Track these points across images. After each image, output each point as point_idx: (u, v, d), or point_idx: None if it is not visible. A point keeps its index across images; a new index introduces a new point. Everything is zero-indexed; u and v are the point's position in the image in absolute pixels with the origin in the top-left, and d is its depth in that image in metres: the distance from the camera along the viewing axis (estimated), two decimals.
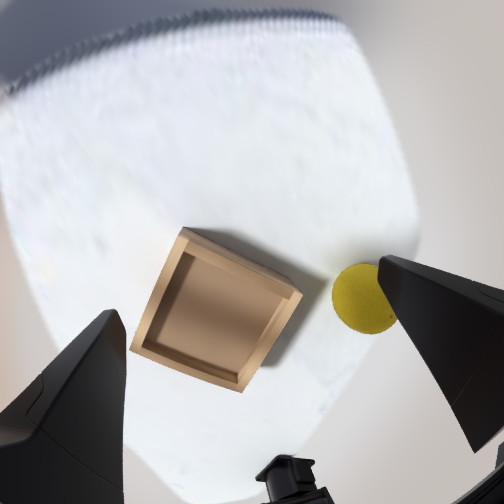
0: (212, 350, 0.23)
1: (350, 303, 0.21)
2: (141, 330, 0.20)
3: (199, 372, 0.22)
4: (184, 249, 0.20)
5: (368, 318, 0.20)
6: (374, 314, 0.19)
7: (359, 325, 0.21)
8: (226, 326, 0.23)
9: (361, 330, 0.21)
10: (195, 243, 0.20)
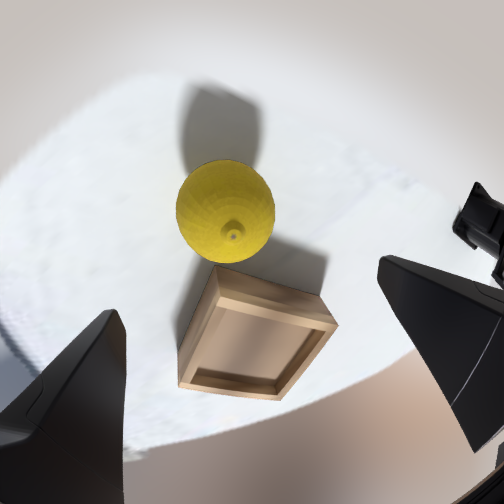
0: (288, 344, 0.24)
1: None
2: (261, 397, 0.25)
3: (306, 360, 0.23)
4: (188, 383, 0.22)
5: (239, 256, 0.14)
6: (231, 253, 0.14)
7: (254, 253, 0.15)
8: (262, 339, 0.23)
9: (263, 244, 0.15)
10: (182, 376, 0.22)
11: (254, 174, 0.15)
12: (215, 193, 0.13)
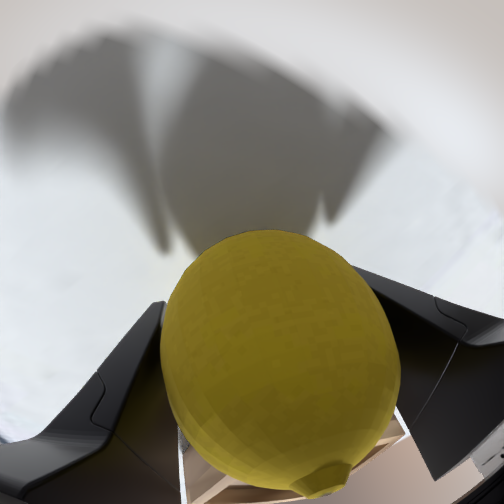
0: None
1: None
2: (293, 499, 0.15)
3: (355, 468, 0.14)
4: (201, 503, 0.13)
5: None
6: None
7: None
8: None
9: None
10: (192, 499, 0.12)
11: (367, 295, 0.05)
12: (282, 407, 0.04)
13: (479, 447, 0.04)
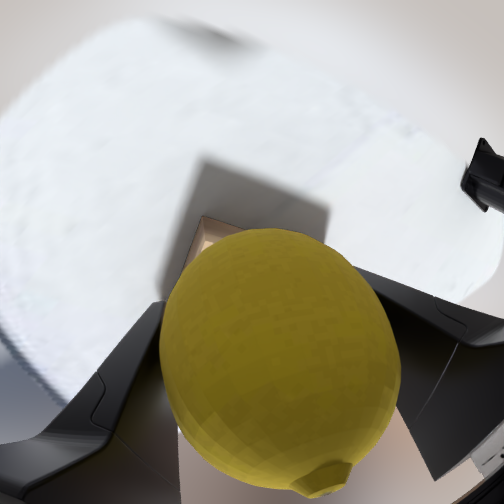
0: None
1: None
2: None
3: None
4: None
5: None
6: None
7: None
8: None
9: None
10: None
11: (367, 293, 0.05)
12: (281, 405, 0.04)
13: (479, 447, 0.04)
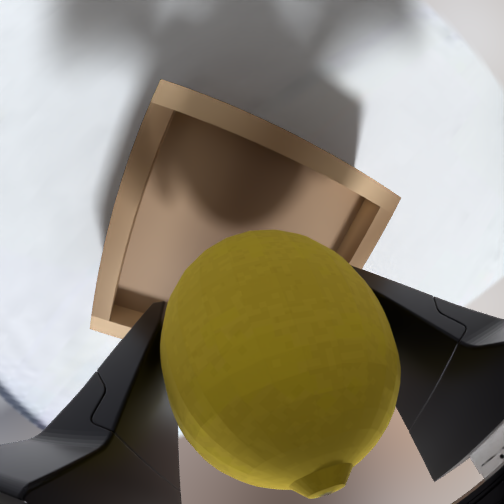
0: None
1: None
2: None
3: None
4: (106, 320, 0.11)
5: None
6: None
7: None
8: (254, 224, 0.12)
9: None
10: None
11: (366, 295, 0.05)
12: (282, 406, 0.04)
13: (478, 447, 0.04)
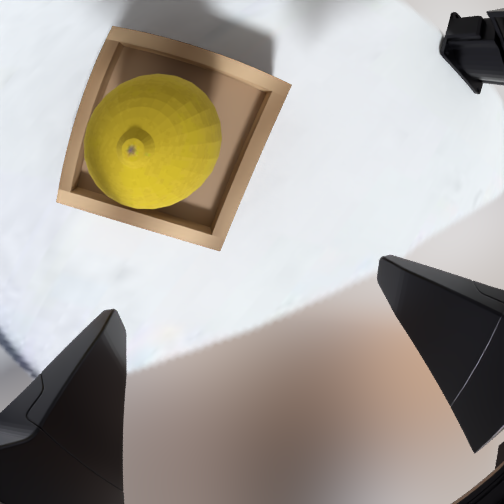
0: None
1: None
2: (184, 234, 0.16)
3: (249, 150, 0.15)
4: (68, 191, 0.13)
5: (154, 190, 0.09)
6: (139, 183, 0.08)
7: (182, 191, 0.10)
8: None
9: (197, 177, 0.10)
10: (61, 179, 0.13)
11: (186, 81, 0.09)
12: (117, 97, 0.07)
13: None
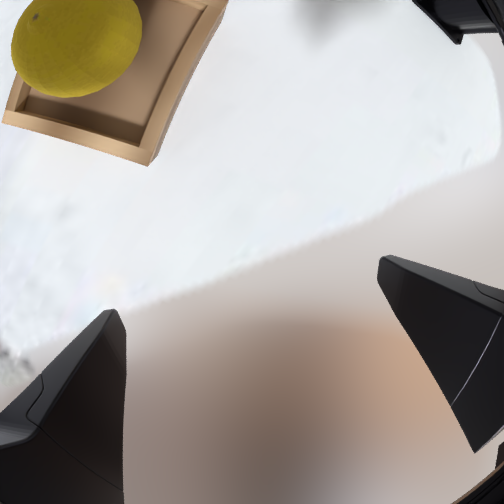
0: (157, 46, 0.12)
1: (52, 88, 0.07)
2: (111, 147, 0.13)
3: (181, 57, 0.12)
4: (12, 111, 0.10)
5: (52, 55, 0.06)
6: (39, 49, 0.05)
7: (81, 59, 0.07)
8: None
9: (97, 46, 0.07)
10: (9, 101, 0.10)
11: None
12: None
13: None
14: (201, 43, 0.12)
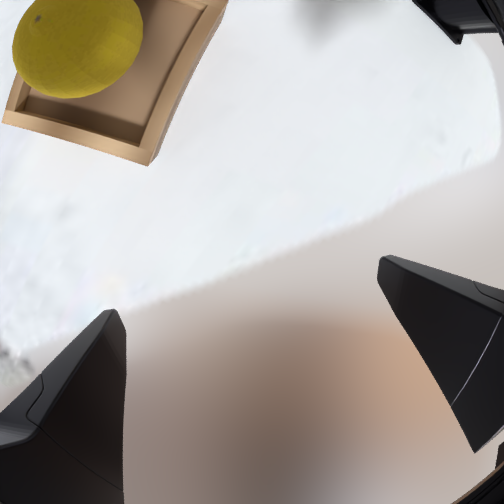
0: (157, 46, 0.12)
1: (54, 89, 0.08)
2: (111, 147, 0.13)
3: (181, 57, 0.12)
4: (12, 111, 0.10)
5: (54, 57, 0.06)
6: (41, 50, 0.06)
7: (83, 61, 0.07)
8: None
9: (99, 48, 0.07)
10: (9, 100, 0.10)
11: None
12: None
13: None
14: (201, 43, 0.12)
